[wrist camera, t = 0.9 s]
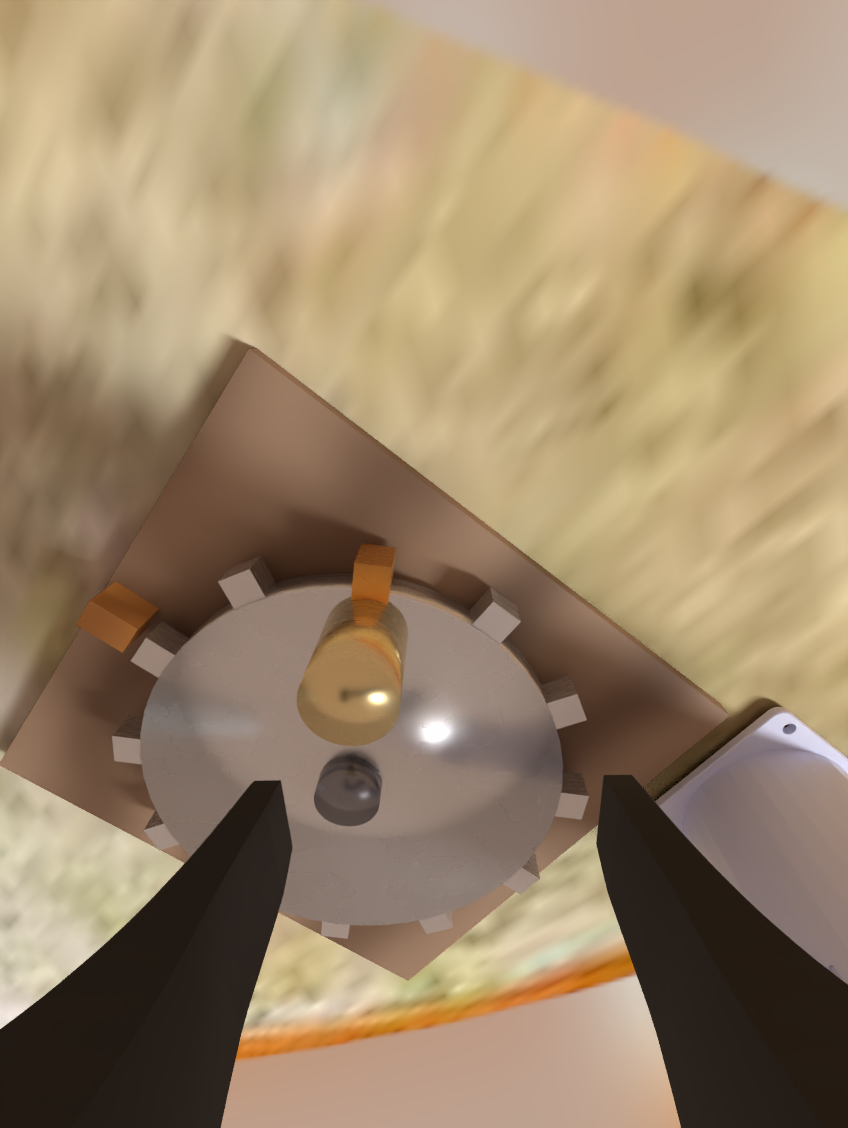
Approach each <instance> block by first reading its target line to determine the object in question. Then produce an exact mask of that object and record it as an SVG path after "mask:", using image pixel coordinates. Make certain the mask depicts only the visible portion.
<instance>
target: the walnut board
mask: <svg viewBox="0 0 848 1128" xmlns="http://www.w3.org/2000/svg"><path fill="white" fill-rule="evenodd" d="M362 543H365V544H372V545H380V546H387V547H395V548H396V556H395V564H394V572H393V578H396V579H402V580H406V581H409V582H412V583H415V584H418V585H422V586H425V587H428V588H431V589H434V590H436V591H438V592H440V593H442V594H444V595H447V596H449V597H451V598H453V599H455V600H457V601H460V602H461V603H463V604H464V605H466V606H467V607H469V608H472V607H473V606H474V604H475V603H476V602H477V601H478V600H479V599H480V598H481V597H482V596H483V594H484V593H485V592H486V591H487V590H488V589H489V588H490V587H491V588H493V589H494V590H496V591H497V592H498V593H500V594H501V595H502V596H504V597H505V598H506V599H508V600H509V601H510V602H512V603H513V604H514V605H516V606H517V610H518V613H519V617H520V620H521V622H520V623H519V624H518V625H517V626H516V628H515V629H514V630H513V631H512V632H511V633H510V634H509V635H508V636H507V637H508V638H509V639H510V641H511V642H512V643H513V644H514V645H515V646H516V647H517V648H518V649H519V650H520V651H521V653H522V654H523V655H524V657H525V658H526V660H527V661H528V663H529V664H530V666H531V667H532V669H533V670H534V671H535V673H536V675H537V677H538V679H539V681H540V683H541V684H543V683H546V682H550V681H553V680H556V679H559V678H562V677H565V676H568V675H570V676H571V679H572V681H573V684H574V687H575V689H576V692H577V694H578V697H579V700H580V703H581V705H582V708H583V711H584V713H585V716H586V719H587V720H586V721H583V722H579V723H576V724H573V725H569V726H566V727H563V728H560V729H557V733H558V736H559V740H560V745H561V752H562V760H563V771H566V772H574V773H582V776H583V779H584V782H585V785H586V788H587V792H588V795H589V798H588V801H587V804H586V807H585V810H584V813H583V817H582V820H581V819H573V818H565V817H557V816H554V819H553V822H552V824H551V827H550V829H549V831H548V832H547V834H546V836H545V838H544V839H543V841H542V843H541V844H540V846H539V847H538V849H537V850H536V851H535V852H534V853H535V854H536V860H537V865H538V871H539V872H541V871H542V870H543V869H544V868H546V867H547V866H548V865H549V864H550V863H552V862H553V861H554V860H555V859H556V858H558V857H559V856H560V855H561V854H563V853H564V852H565V851H566V850H567V849H569V848H570V847H571V846H572V845H573V844H575V843H576V842H577V841H578V840H580V839H581V838H582V837H583V836H584V835H586V834H587V833H588V832H589V831H590V830H592V829H593V828H594V827H595V826H597V825H598V823H599V814H600V804H601V795H602V785H603V776H604V775H632V776H634V777H635V778H636V779H637V781H638V782H639V783H640V784H641V785H642V787H644V786H645V785H646V784H648V783H649V782H650V781H651V780H652V779H654V778H655V777H656V776H657V775H658V774H660V773H661V772H662V771H663V770H665V769H666V768H667V767H668V766H669V765H671V764H672V763H673V762H674V761H675V760H677V759H678V758H679V757H680V756H682V755H683V754H684V753H685V752H686V751H688V750H689V749H690V748H691V747H692V746H694V745H695V744H696V743H697V742H699V741H700V740H701V739H702V738H703V737H705V736H706V735H707V734H708V733H709V732H711V731H712V730H713V729H714V728H715V727H717V726H718V725H719V724H720V723H722V722H723V721H724V720H725V719H726V718H728V717H729V716H730V715H729V714H728V713H727V712H726V710H725V709H724V708H723V706H722V705H721V704H720V703H719V702H718V701H716V700H715V699H714V698H712V697H711V696H710V695H709V694H707V693H706V692H705V691H703V690H702V689H701V688H699V687H698V686H697V685H696V684H694V683H693V682H692V681H690V680H689V679H688V678H686V677H685V676H684V675H682V674H681V673H680V672H679V671H677V670H676V669H675V668H673V667H672V666H671V665H669V664H668V663H667V662H666V661H664V660H663V659H662V658H660V657H659V656H658V655H656V654H655V653H654V652H652V651H651V650H650V649H649V648H647V647H646V646H645V645H643V644H642V643H641V642H639V641H638V640H637V639H636V638H634V637H633V636H632V635H630V634H629V633H628V632H626V631H625V630H624V629H622V628H621V627H620V626H619V625H617V624H616V623H615V622H613V621H612V620H611V619H609V618H608V617H607V616H605V615H604V614H603V613H602V612H600V611H599V610H598V609H596V608H595V607H594V606H592V605H591V604H590V603H589V602H587V601H586V600H585V599H583V598H582V597H581V596H579V595H578V594H577V593H575V592H574V591H573V590H572V589H570V588H569V587H568V586H566V585H565V584H564V583H562V582H561V581H560V580H559V579H557V578H556V577H555V576H553V575H552V574H551V573H549V572H548V571H547V570H545V569H544V568H543V567H542V566H540V565H539V564H538V563H536V562H535V561H534V560H532V559H531V558H530V557H528V556H527V555H526V554H525V553H523V552H522V551H521V550H519V549H518V548H517V547H515V546H514V545H513V544H512V543H510V542H509V541H508V540H506V539H505V538H504V537H502V536H501V535H500V534H498V533H497V532H496V531H495V530H493V529H492V528H491V527H489V526H488V525H487V524H485V523H484V522H483V521H482V520H480V519H479V518H478V517H476V516H475V515H474V514H472V513H471V512H470V511H468V510H467V509H466V508H465V507H463V506H462V505H461V504H459V503H458V502H457V501H455V500H454V499H453V498H452V497H450V496H449V495H448V494H446V493H445V492H444V491H442V490H441V489H440V488H438V487H437V486H436V485H435V484H433V483H432V482H431V481H429V480H428V479H427V478H425V477H424V476H423V475H421V474H420V473H419V472H418V471H416V470H415V469H414V468H412V467H411V466H410V465H408V464H407V463H406V462H405V461H403V460H402V459H401V458H399V457H398V456H397V455H395V454H394V453H393V452H391V451H390V450H389V449H388V448H386V447H385V446H384V445H382V444H381V443H380V442H378V441H377V440H376V439H375V438H373V437H372V436H371V435H369V434H368V433H367V432H365V431H364V430H363V429H361V428H360V427H359V426H358V425H356V424H355V423H354V422H352V421H351V420H350V419H348V418H347V417H346V416H344V415H343V414H342V413H341V412H339V411H338V410H337V409H335V408H334V407H333V406H331V405H330V404H329V403H328V402H326V401H325V400H324V399H322V398H321V397H320V396H318V395H317V394H316V393H314V392H313V391H312V390H311V389H309V388H308V387H307V386H305V385H304V384H303V383H301V382H300V381H299V380H298V379H296V378H295V377H294V376H292V375H291V374H290V373H288V372H287V371H286V370H284V369H283V368H282V367H281V366H279V365H278V364H277V363H275V362H274V361H273V360H271V359H270V358H269V357H267V356H266V355H265V354H264V353H262V352H261V351H260V350H258V349H257V348H255V349H249V350H248V351H247V353H246V355H245V356H244V358H243V360H242V361H241V363H240V365H239V366H238V368H237V370H236V371H235V373H234V375H233V376H232V378H231V380H230V381H229V383H228V385H227V386H226V388H225V389H224V391H223V393H222V394H221V396H220V398H219V399H218V401H217V403H216V404H215V406H214V408H213V409H212V411H211V413H210V414H209V416H208V418H207V419H206V421H205V423H204V424H203V426H202V428H201V429H200V431H199V433H198V434H197V436H196V438H195V439H194V441H193V443H192V444H191V446H190V448H189V449H188V451H187V453H186V454H185V456H184V458H183V459H182V461H181V463H180V464H179V466H178V468H177V469H176V471H175V473H174V474H173V476H172V478H171V479H170V481H169V483H168V484H167V486H166V488H165V489H164V491H163V493H162V494H161V496H160V498H159V499H158V501H157V503H156V504H155V506H154V508H153V509H152V511H151V512H150V514H149V516H148V517H147V519H146V521H145V522H144V524H143V526H142V527H141V529H140V531H139V532H138V534H137V536H136V537H135V539H134V541H133V542H132V544H131V546H130V547H129V549H128V551H127V552H126V554H125V556H124V557H123V559H122V561H121V562H120V564H119V566H118V567H117V569H116V571H115V572H114V574H113V576H112V577H111V579H110V581H109V582H108V584H107V586H106V587H105V589H104V590H103V591H102V592H101V593H99V594H98V595H97V596H95V597H94V598H93V599H91V600H90V602H89V603H88V605H87V607H86V608H85V610H84V612H83V613H82V615H81V617H80V618H79V620H78V622H77V623H76V625H77V626H79V627H80V628H81V629H80V631H79V632H78V634H77V635H76V637H75V639H74V640H73V642H72V644H71V645H70V647H69V649H68V650H67V652H66V654H65V655H64V657H63V659H62V660H61V662H60V664H59V665H58V667H57V669H56V670H55V672H54V674H53V675H52V677H51V679H50V680H49V682H48V684H47V685H46V687H45V689H44V690H43V692H42V694H41V695H40V697H39V699H38V700H37V702H36V704H35V705H34V707H33V709H32V710H31V712H30V714H29V715H28V717H27V719H26V720H25V722H24V724H23V725H22V727H21V729H20V730H19V732H18V734H17V735H16V737H15V739H14V740H13V742H12V744H11V745H10V747H9V749H8V750H7V752H6V754H5V755H4V757H3V758H2V760H1V762H0V766H2V767H4V768H6V769H8V770H10V771H11V772H13V773H15V774H17V775H19V776H21V777H23V778H25V779H27V780H28V781H30V782H32V783H34V784H36V785H38V786H40V787H42V788H44V789H46V790H47V791H49V792H51V793H53V794H55V795H57V796H59V797H61V798H63V799H65V800H66V801H68V802H70V803H72V804H74V805H76V806H78V807H80V808H82V809H83V810H85V811H87V812H89V813H91V814H93V815H95V816H97V817H99V818H101V819H102V820H104V821H106V822H108V823H110V824H112V825H114V826H116V827H118V828H119V829H121V830H123V831H125V832H127V833H129V834H131V835H133V836H135V837H137V838H138V839H140V840H142V841H144V842H146V843H148V844H150V845H152V846H154V847H156V846H155V844H154V843H153V842H152V840H151V839H150V838H149V837H148V835H147V834H146V833H145V831H144V828H145V827H146V825H147V823H148V822H149V820H150V819H151V817H152V815H153V814H154V812H155V810H156V808H155V806H154V804H153V802H152V800H151V798H150V795H149V792H148V789H147V786H146V783H145V779H144V776H143V770H142V764H134V763H126V762H118V761H114V752H113V742H112V735H113V734H114V733H115V732H116V730H117V729H118V728H119V727H120V726H121V724H122V723H123V722H124V721H125V720H126V718H127V717H128V716H133V717H141V718H143V716H144V711H145V708H146V705H147V702H148V700H149V697H150V694H151V691H152V689H153V687H154V685H155V684H156V682H157V680H158V679H159V678H158V677H156V676H155V675H153V674H151V673H150V672H148V671H146V670H145V669H143V668H141V667H140V666H138V665H136V664H134V663H133V662H131V660H132V658H133V657H134V655H135V654H136V652H137V651H138V649H139V647H140V646H141V644H142V643H143V641H144V640H145V638H146V637H147V636H148V635H149V634H150V633H151V632H152V631H153V630H154V629H155V628H156V627H157V626H158V625H159V624H160V623H161V622H164V623H165V624H167V625H169V626H170V627H172V628H173V629H175V630H177V631H178V632H180V633H181V634H183V635H185V636H186V637H188V638H190V637H191V636H192V635H193V634H194V632H195V631H196V630H197V629H198V628H199V627H200V626H201V625H202V624H203V623H205V622H206V621H207V620H208V619H209V618H210V617H211V616H212V615H214V614H215V613H216V612H217V611H219V610H220V609H222V608H224V607H225V606H227V605H228V604H230V601H229V599H228V598H227V596H226V594H225V593H224V591H223V589H222V588H221V586H220V584H219V583H218V581H219V580H220V579H221V578H222V577H223V576H224V575H225V573H226V572H227V571H228V570H229V569H230V568H232V567H234V566H237V565H239V564H242V563H244V562H247V561H249V560H252V559H254V558H257V557H259V556H261V557H262V559H263V561H264V563H265V565H266V566H267V568H268V570H269V572H270V574H271V576H272V577H273V579H274V581H275V583H276V582H280V581H283V580H286V579H290V578H295V577H301V576H307V575H313V574H322V573H343V572H349V573H353V571H354V562H355V559H356V557H357V554H358V552H359V549H360V547H361V544H362ZM156 848H157V847H156ZM157 849H158V848H157ZM161 851H163V852H165V853H167V854H169V855H171V856H173V857H174V858H176V859H178V860H180V861H182V862H184V863H186V861H187V860H188V859H189V858H190V857H191V856H189V855H188V854H187V853H186V851H185V850H184V849H183V848H182V847H181V846H180V844H179V845H176V846H172V847H169V848H166V849H163V850H161ZM515 892H516V891H514V890H512V889H511V888H509V887H507V886H505V885H504V884H502V885H500V886H499V887H498V888H496V889H495V890H493V891H492V892H490V893H488V894H487V895H485V896H483V897H481V898H480V899H478V900H476V901H474V902H472V903H470V904H468V905H465V906H463V907H461V908H458V909H456V910H454V911H452V928H450V929H446V930H442V931H438V932H434V933H430V934H427V933H426V932H425V930H424V928H423V927H422V925H421V923H420V921H419V920H418V921H413V922H408V923H399V924H390V925H364V926H359V925H350V928H349V934H348V939H345V938H337V937H328V936H324V937H326V938H328V939H330V940H332V941H334V942H336V943H338V944H339V945H341V946H343V947H345V948H347V949H349V950H351V951H353V952H355V953H356V954H358V955H360V956H362V957H364V958H366V959H368V960H370V961H372V962H374V963H375V964H377V965H379V966H381V967H383V968H385V969H387V970H389V971H391V972H393V973H394V974H396V975H398V976H400V977H402V978H404V979H406V980H410V979H411V978H412V977H413V976H414V975H416V974H417V973H418V972H419V971H421V970H422V969H423V968H424V967H425V966H427V965H428V964H429V963H430V962H431V961H433V960H434V959H435V958H436V957H437V956H439V955H440V954H441V953H442V952H444V951H445V950H446V949H447V948H448V947H450V946H451V945H452V944H453V943H454V942H456V941H457V940H458V939H459V938H461V937H462V936H463V935H464V934H465V933H467V932H468V931H469V930H470V929H471V928H473V927H474V926H475V925H476V924H478V923H479V922H480V921H481V920H482V919H484V918H485V917H486V916H487V915H488V914H490V913H491V912H492V911H493V910H495V909H496V908H497V907H498V906H499V905H501V904H502V903H503V902H504V901H505V900H507V899H508V898H509V897H510V896H512V895H513V894H514V893H515ZM278 912H279V913H281V914H283V915H284V916H286V917H288V918H290V919H292V920H294V921H296V922H298V923H300V924H302V925H303V926H305V927H307V928H309V929H311V930H313V931H315V932H317V933H319V934H320V935H321V930H322V921H316V920H311V919H307V918H303V917H299V916H295V915H291V914H288V913H285V912H282V911H278Z"/></svg>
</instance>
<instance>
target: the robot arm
mask: <svg viewBox="0 0 848 1128" xmlns="http://www.w3.org/2000/svg"><path fill="white" fill-rule="evenodd" d="M787 724H789V726H787V727H785V728H783V727H784V726H785V725H787ZM596 844H597V848H598V853H599V857H600V862H601V866H602V870H603V875H604V879H605V883H606V887H607V891H608V894H609V897H610V900H611V903H612V906H613V909H614V912H615V915H616V917H617V920H618V923H619V926H620V929H621V932H622V935H623V937H624V940H625V943H626V946H627V949H628V951H629V954H630V957H631V960H632V963H633V966H634V968H635V971H636V974H637V977H638V979H639V982H640V985H641V988H642V991H643V994H644V997H645V999H646V1002H647V1005H648V1008H649V1011H650V1014H651V1017H652V1021H653V1023H654V1027H655V1030H656V1033H657V1037H658V1040H659V1044H660V1047H661V1051H662V1055H663V1059H664V1063H665V1066H666V1070H667V1074H668V1078H669V1082H670V1085H671V1089H672V1093H673V1097H674V1101H675V1105H676V1109H677V1113H678V1117H679V1121H680V1124H681V1128H848V757H846V756H845V755H844V754H843V753H841V752H840V751H839V750H838V749H836V748H835V747H834V746H832V745H831V744H830V743H829V742H827V741H826V740H825V739H824V738H822V737H821V736H820V735H819V734H817V733H816V732H815V731H814V730H812V729H811V728H810V727H808V726H807V725H806V724H805V723H803V722H802V721H801V720H800V719H798V718H797V717H796V716H795V715H793V714H792V713H791V712H790V711H788V710H787V709H785V708H783V707H774V708H771V709H770V710H768V711H767V712H766V713H764V714H763V715H762V716H761V717H759V718H758V719H757V720H756V721H754V722H753V723H752V724H751V725H749V726H748V727H747V728H746V729H744V730H743V731H742V732H741V733H740V734H738V735H737V736H736V737H735V738H733V739H732V740H731V741H730V742H728V743H727V744H726V745H725V746H723V747H722V748H721V749H720V750H718V751H717V752H716V753H715V754H713V755H712V756H711V757H710V758H708V759H707V760H706V761H705V762H704V763H702V764H701V765H700V766H699V767H697V768H696V769H695V770H694V771H692V772H691V773H690V774H689V775H687V776H686V777H685V778H684V779H682V780H681V781H680V782H679V783H677V784H676V785H675V786H674V787H672V788H671V789H670V790H669V791H668V792H666V793H665V794H664V795H663V796H661V797H660V798H659V799H658V800H656V801H654V800H653V798H652V797H651V796H650V795H649V794H648V793H647V791H646V790H645V789H644V788H643V787H642V785H641V784H640V783H639V782H638V781H637V779H636V778H635V777H634V776H632V775H604V776H603V785H602V795H601V804H600V814H599V823H598V833H597V842H596ZM292 848H293V846H292V840H291V835H290V829H289V823H288V818H287V812H286V806H285V801H284V795H283V789H282V784H281V780H265V781H253V782H252V783H251V784H250V786H249V787H248V788H247V789H246V790H245V792H244V793H243V794H242V795H241V797H240V798H239V799H238V800H237V802H236V803H235V804H234V805H233V807H232V808H231V809H230V810H229V812H228V813H227V814H226V815H225V817H224V818H223V819H222V820H221V821H220V823H219V824H218V825H217V826H216V828H215V829H214V830H213V831H212V832H211V834H210V835H209V836H208V837H207V838H206V839H205V841H204V842H203V843H202V844H201V845H200V846H199V848H198V849H197V850H196V851H195V852H194V853H193V854H192V856H191V857H190V858H189V859H188V860H187V861H186V863H185V864H184V865H183V866H182V867H181V868H180V869H179V870H178V871H177V872H176V873H175V875H174V876H173V877H172V878H171V879H170V880H169V881H168V882H167V883H166V884H165V885H164V886H163V887H162V888H161V890H160V891H159V892H158V893H157V894H156V895H155V896H154V897H153V898H152V899H151V900H150V901H149V902H148V903H147V904H146V905H145V906H144V907H143V908H142V909H141V910H140V911H139V912H138V913H137V914H136V915H135V916H134V917H133V918H132V919H131V920H130V921H129V922H128V923H127V924H126V925H125V926H124V927H123V928H122V929H121V930H120V931H118V932H117V933H116V934H115V935H114V936H113V937H112V938H111V939H110V940H109V941H108V942H107V943H106V944H104V945H103V946H102V947H101V948H100V949H99V950H98V951H97V952H95V953H94V954H93V955H92V956H91V957H90V958H89V959H87V960H86V961H85V962H84V963H83V964H82V965H80V966H79V967H78V968H77V969H76V970H75V971H73V972H72V973H71V974H70V975H69V976H67V977H66V978H65V979H64V980H63V981H62V982H60V983H59V984H58V985H57V986H56V987H54V988H53V989H52V990H51V991H50V992H48V993H47V994H46V995H45V996H43V997H42V998H41V999H39V1000H38V1001H37V1002H36V1003H34V1004H33V1005H32V1006H30V1007H29V1008H28V1009H27V1010H25V1011H24V1012H23V1013H21V1014H20V1015H19V1016H17V1017H16V1018H15V1019H13V1020H12V1021H11V1022H9V1023H8V1024H7V1025H5V1026H4V1027H3V1028H1V1029H0V1128H221V1123H222V1118H223V1113H224V1109H225V1104H226V1099H227V1094H228V1090H229V1085H230V1081H231V1076H232V1072H233V1068H234V1063H235V1059H236V1054H237V1050H238V1046H239V1041H240V1037H241V1033H242V1029H243V1026H244V1022H245V1018H246V1015H247V1011H248V1008H249V1004H250V1001H251V998H252V995H253V992H254V988H255V985H256V982H257V979H258V976H259V972H260V969H261V966H262V963H263V960H264V956H265V953H266V950H267V947H268V944H269V941H270V937H271V934H272V931H273V928H274V924H275V921H276V918H277V915H278V911H279V908H280V905H281V901H282V898H283V894H284V889H285V885H286V880H287V875H288V870H289V864H290V859H291V853H292Z"/></svg>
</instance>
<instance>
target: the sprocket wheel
mask: <svg viewBox="0 0 848 1128" xmlns="http://www.w3.org/2000/svg"><path fill="white" fill-rule="evenodd" d="M395 556H396V548H395V547H387V546H380V545H372V544H365V543H362V544H361V547H360V549H359V552H358V554H357V557H356V559H355V562H354V571H353V573H349V572H343V573H322V574H313V575H307V576H301V577H295V578H290V579H286V580H283V581H280V582H276V583H275V581H274V579H273V577H272V576H271V574H270V572H269V570H268V568H267V566H266V565H265V563H264V561H263V559H262V557H261V556H259V557H257V558H254V559H252V560H249V561H247V562H244V563H242V564H239V565H237V566H234V567H232V568H230V569H229V570H228V571H227V572H226V573H225V575H224V576H223V577H222V578H221V579H220V580H219V581H218V583H219V584H220V586H221V588H222V589H223V591H224V593H225V594H226V596H227V598H228V599H229V601H230V604H228V605H227V606H225V607H224V608H222V609H220V610H219V611H217V612H216V613H215V614H214V615H212V616H211V617H210V618H209V619H208V620H207V621H206V622H205V623H203V624H202V625H201V626H200V627H199V628H198V629H197V630H196V631H195V632H194V634H193V635H192V636H191V637H190V638H188V637H186V636H185V635H183V634H181V633H180V632H178V631H177V630H175V629H173V628H172V627H170V626H169V625H167V624H165V623H164V622H161V623H160V624H159V625H158V626H157V627H156V628H155V629H154V630H153V631H152V632H151V633H150V634H149V635H148V636H147V637H146V638H145V640H144V641H143V643H142V644H141V646H140V647H139V649H138V651H137V652H136V654H135V655H134V657H133V658H132V660H131V662H133V663H134V664H136V665H138V666H140V667H141V668H143V669H145V670H146V671H148V672H150V673H151V674H153V675H155V676H156V677H158V678H159V679H158V680H157V682H156V684H155V685H154V687H153V689H152V691H151V694H150V697H149V700H148V702H147V705H146V708H145V711H144V716H143V718H141V717H133V716H128V717H127V718H126V720H125V721H124V722H123V723H122V724H121V726H120V727H119V728H118V729H117V730H116V732H115V733H114V734H113V735H112V742H113V752H114V761H118V762H126V763H134V764H142V770H143V776H144V779H145V783H146V786H147V789H148V792H149V795H150V798H151V800H152V802H153V804H154V806H155V808H156V810H155V812H154V814H153V815H152V817H151V819H150V820H149V822H148V823H147V825H146V827H145V828H144V831H145V833H146V834H147V835H148V837H149V838H150V839H151V840H152V842H153V843H154V844H155V846H156V847H157V848H158V849H159V850H163V849H166V848H169V847H172V846H176V845H179V844H180V846H181V847H182V848H183V849H184V850H185V851H186V853H187V854H188V855H189V856H192V854H193V853H194V852H195V851H196V850H197V849H198V848H199V846H200V845H201V844H202V843H203V842H204V841H205V839H206V838H207V837H208V836H209V835H210V834H211V832H212V831H213V830H214V829H215V828H216V826H217V825H218V824H219V823H220V821H221V820H222V819H223V818H224V817H225V815H226V814H227V813H228V812H229V810H230V809H231V808H232V807H233V805H234V804H235V803H236V802H237V800H238V799H239V798H240V797H241V795H242V794H243V793H244V792H245V790H246V789H247V788H248V787H249V786H250V784H251V783H252V782H253V781H265V780H281V784H282V789H283V795H284V801H285V806H286V812H287V818H288V823H289V829H290V835H291V840H292V846H293V848H292V853H291V859H290V864H289V870H288V875H287V880H286V885H285V889H284V894H283V898H282V901H281V905H280V908H279V911H282V912H285V913H288V914H291V915H295V916H299V917H303V918H307V919H311V920H316V921H322V930H321V936H328V937H337V938H345V939H348V934H349V928H350V925H359V926H364V925H390V924H399V923H408V922H413V921H418V920H419V921H420V923H421V925H422V927H423V928H424V930H425V932H426V933H427V934H430V933H434V932H438V931H442V930H446V929H450V928H452V911H454V910H456V909H458V908H461V907H463V906H465V905H468V904H470V903H472V902H474V901H476V900H478V899H480V898H481V897H483V896H485V895H487V894H488V893H490V892H492V891H493V890H495V889H496V888H498V887H499V886H500V885H502V884H504V885H505V886H507V887H509V888H511V889H512V890H514V891H516V892H517V893H519V894H522V893H523V892H524V891H526V890H527V889H528V888H529V887H531V886H532V885H533V884H534V883H535V882H537V881H538V880H539V879H540V876H539V871H538V865H537V860H536V854H535V853H534V852H535V851H536V850H537V849H538V847H539V846H540V844H541V843H542V841H543V839H544V838H545V836H546V834H547V832H548V831H549V829H550V827H551V824H552V822H553V819H554V816H557V817H565V818H573V819H581V820H582V817H583V813H584V810H585V807H586V804H587V801H588V798H589V795H588V792H587V788H586V785H585V782H584V779H583V776H582V773H574V772H566V771H563V760H562V752H561V745H560V740H559V736H558V733H557V729H560V728H563V727H566V726H569V725H573V724H576V723H579V722H583V721H586V720H587V719H586V716H585V713H584V711H583V708H582V705H581V703H580V700H579V697H578V694H577V692H576V689H575V687H574V684H573V681H572V679H571V676H570V675H568V676H565V677H562V678H559V679H556V680H553V681H550V682H546V683H543V684H541V683H540V681H539V679H538V677H537V675H536V673H535V671H534V670H533V669H532V667H531V666H530V664H529V663H528V661H527V660H526V658H525V657H524V655H523V654H522V653H521V651H520V650H519V649H518V648H517V647H516V646H515V645H514V644H513V643H512V642H511V641H510V639H509V638H508V637H507V636H508V635H509V634H510V633H511V632H512V631H513V630H514V629H515V628H516V626H517V625H518V624H519V623H520V622H521V620H520V617H519V613H518V610H517V606H516V605H514V604H513V603H512V602H510V601H509V600H508V599H506V598H505V597H504V596H502V595H501V594H500V593H498V592H497V591H496V590H494V589H493V588H491V587H490V588H489V589H488V590H487V591H486V592H485V593H484V594H483V596H482V597H481V598H480V599H479V600H478V601H477V602H476V603H475V604H474V606H473V607H472V608H469V607H467V606H466V605H464V604H463V603H461V602H460V601H457V600H455V599H453V598H451V597H449V596H447V595H444V594H442V593H440V592H438V591H436V590H434V589H431V588H428V587H425V586H422V585H418V584H415V583H412V582H409V581H406V580H402V579H396V578H393V572H394V564H395Z"/></svg>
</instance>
